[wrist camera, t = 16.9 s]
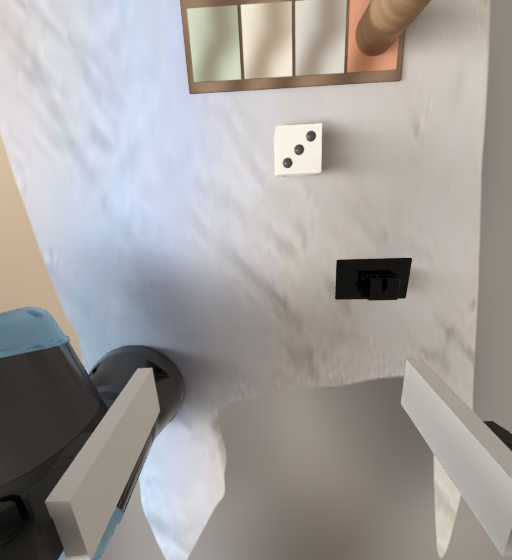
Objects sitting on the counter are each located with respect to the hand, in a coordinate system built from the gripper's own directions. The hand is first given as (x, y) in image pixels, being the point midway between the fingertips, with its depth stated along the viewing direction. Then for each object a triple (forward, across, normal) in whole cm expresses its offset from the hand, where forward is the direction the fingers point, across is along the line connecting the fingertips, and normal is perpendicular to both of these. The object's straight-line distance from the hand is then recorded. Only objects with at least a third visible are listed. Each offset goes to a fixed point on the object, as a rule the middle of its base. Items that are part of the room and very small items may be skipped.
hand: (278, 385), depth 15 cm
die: (+27, +4, +14) cm, 30 cm away
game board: (+27, +4, +26) cm, 37 cm away
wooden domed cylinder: (+26, +13, +26) cm, 39 cm away
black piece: (+28, +15, -3) cm, 32 cm away
